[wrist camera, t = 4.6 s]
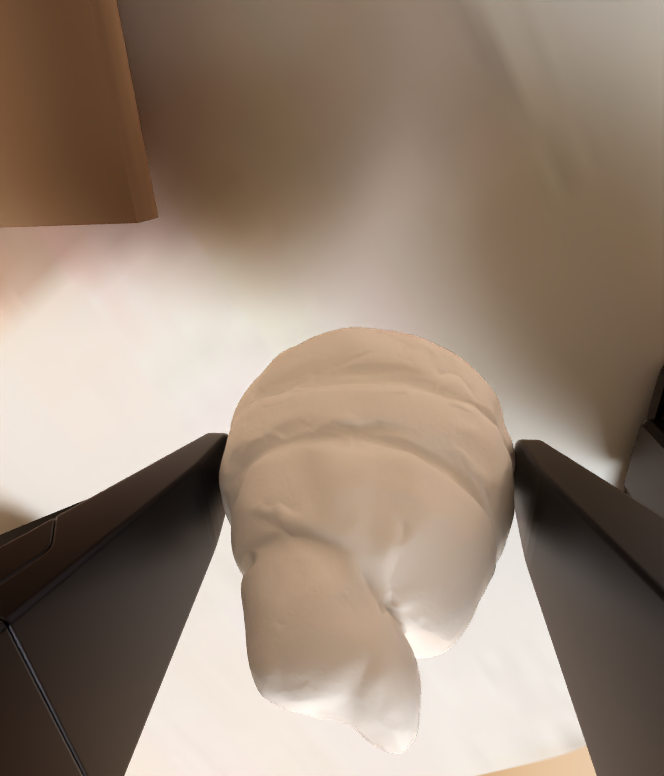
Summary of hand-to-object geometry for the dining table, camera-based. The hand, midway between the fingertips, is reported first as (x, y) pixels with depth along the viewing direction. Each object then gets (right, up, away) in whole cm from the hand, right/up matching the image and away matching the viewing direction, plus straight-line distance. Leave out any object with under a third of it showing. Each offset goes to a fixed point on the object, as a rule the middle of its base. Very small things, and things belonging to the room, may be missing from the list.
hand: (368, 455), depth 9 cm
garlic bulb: (0, +1, +1) cm, 2 cm away
